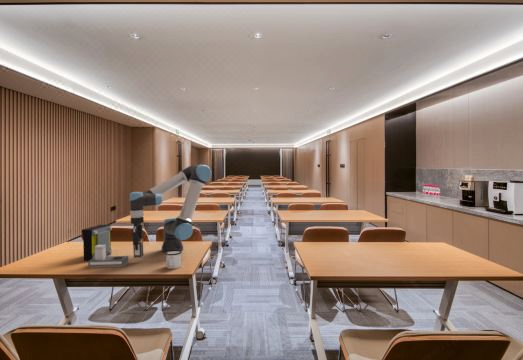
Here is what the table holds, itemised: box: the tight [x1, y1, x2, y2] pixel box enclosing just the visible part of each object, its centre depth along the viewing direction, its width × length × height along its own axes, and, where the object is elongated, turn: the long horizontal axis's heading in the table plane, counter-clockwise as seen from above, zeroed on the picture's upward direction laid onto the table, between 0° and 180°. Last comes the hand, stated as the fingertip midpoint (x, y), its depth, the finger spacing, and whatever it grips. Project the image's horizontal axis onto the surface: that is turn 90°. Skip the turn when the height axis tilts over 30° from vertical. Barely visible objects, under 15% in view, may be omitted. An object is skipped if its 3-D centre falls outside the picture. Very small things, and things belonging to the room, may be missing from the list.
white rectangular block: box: [95, 245, 106, 260], centre depth 186 cm, size 5×5×11 cm
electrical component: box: [80, 224, 113, 262], centre depth 202 cm, size 18×10×20 cm, turn 168°
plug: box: [132, 237, 144, 259], centre depth 191 cm, size 5×5×11 cm
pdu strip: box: [87, 255, 130, 269], centre depth 186 cm, size 20×9×4 cm, turn 96°
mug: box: [164, 250, 183, 270], centre depth 181 cm, size 12×10×9 cm
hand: (138, 253), depth 191 cm, fingers closed on plug, 4 cm apart
